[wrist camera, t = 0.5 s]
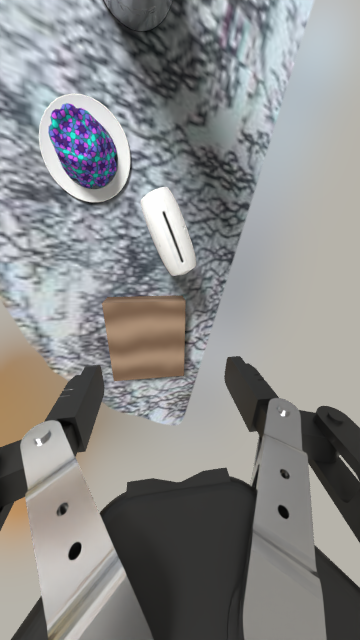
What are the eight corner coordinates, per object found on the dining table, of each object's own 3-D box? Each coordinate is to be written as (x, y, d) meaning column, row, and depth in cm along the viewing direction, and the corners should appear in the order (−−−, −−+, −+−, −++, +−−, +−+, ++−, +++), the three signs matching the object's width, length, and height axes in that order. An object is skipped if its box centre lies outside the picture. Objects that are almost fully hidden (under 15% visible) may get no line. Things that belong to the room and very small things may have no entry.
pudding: (42, 189, 27) (18, 176, 22) (41, 80, 23) (12, 36, 18) (124, 213, 30) (119, 206, 25) (137, 119, 26) (133, 89, 21)
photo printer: (140, 212, 30) (132, 190, 18) (165, 201, 30) (172, 172, 18) (166, 272, 34) (172, 285, 22) (187, 263, 33) (205, 270, 22)
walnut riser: (107, 297, 34) (102, 303, 30) (182, 295, 36) (185, 301, 32) (117, 368, 40) (114, 381, 36) (181, 364, 41) (183, 375, 38)
